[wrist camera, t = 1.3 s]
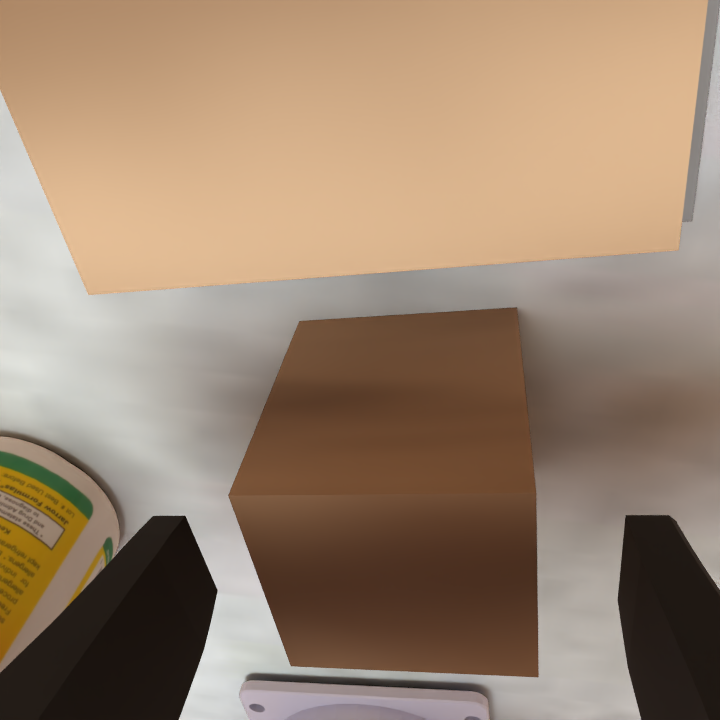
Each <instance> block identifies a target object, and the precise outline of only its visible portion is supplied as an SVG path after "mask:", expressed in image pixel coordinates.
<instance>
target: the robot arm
mask: <svg viewBox="0 0 720 720" xmlns="http://www.w3.org/2000/svg"><path fill="white" fill-rule="evenodd" d="M217 591H218V590H217V588H216V586H215V584H214V581H213V579H212V577H211V574H210V572H209V570H208V567H207V565H206V563H205V560H204V558H203V556H202V553H201V551H200V549H199V547H198V544H197V542H196V540H195V537H194V535H193V533H192V530H191V528H190V526H189V523H188V521H187V519H186V516H153V517H152V518H151V519H150V520H149V521H148V522H147V523H146V524H145V525H144V526H143V527H142V528H141V529H140V530H139V531H138V532H137V533H136V534H135V535H134V536H133V537H132V538H131V540H130V541H129V542H128V543H127V544H126V545H125V546H124V547H123V548H122V549H121V550H120V551H119V552H118V554H117V555H116V556H115V557H114V558H113V559H112V560H111V561H110V562H109V563H108V564H107V565H106V566H105V567H104V569H103V570H102V571H101V572H100V573H99V574H98V575H97V576H96V577H95V578H94V579H93V580H92V581H91V582H90V583H89V584H88V585H87V587H86V588H85V589H84V590H83V591H82V592H81V593H80V594H79V595H78V596H77V597H76V598H75V599H74V600H73V601H72V602H71V603H70V604H69V605H68V606H67V607H66V608H65V610H64V611H63V612H62V613H61V614H60V615H59V616H58V617H57V618H56V619H55V620H54V621H53V622H52V623H51V624H50V625H49V626H48V627H47V628H46V629H45V630H44V631H43V632H42V633H41V634H40V635H39V636H37V637H36V638H35V639H34V640H33V641H32V642H31V643H30V644H29V645H28V646H27V647H26V648H25V649H24V650H23V651H22V652H21V653H20V654H19V655H18V656H17V657H16V658H15V659H14V660H13V661H12V662H11V663H10V664H9V665H8V666H7V667H6V668H5V669H3V670H2V671H1V672H0V720H179V717H180V715H181V712H182V709H183V706H184V704H185V701H186V698H187V696H188V693H189V690H190V687H191V684H192V682H193V679H194V676H195V673H196V670H197V668H198V665H199V662H200V659H201V656H202V653H203V650H204V647H205V643H206V639H207V635H208V631H209V627H210V623H211V618H212V614H213V609H214V605H215V600H216V595H217ZM618 605H619V612H620V619H621V625H622V632H623V639H624V645H625V651H626V658H627V664H628V669H629V673H630V677H631V681H632V685H633V689H634V693H635V697H636V700H637V704H638V708H639V712H640V716H641V720H720V590H719V588H718V587H717V585H716V584H715V582H714V581H713V580H712V578H711V577H710V575H709V574H708V572H707V571H706V569H705V567H704V566H703V564H702V563H701V561H700V560H699V558H698V557H697V555H696V554H695V552H694V550H693V549H692V547H691V546H690V544H689V542H688V541H687V539H686V537H685V536H684V534H683V532H682V531H681V529H680V527H679V525H678V524H677V522H676V521H675V520H674V519H673V518H672V517H670V516H669V515H626V518H625V529H624V539H623V550H622V560H621V571H620V581H619V592H618ZM239 698H240V700H241V702H242V704H243V706H244V709H245V711H246V713H247V715H248V717H249V719H250V720H490V715H489V704H488V700H487V698H486V697H485V696H483V695H482V694H480V693H478V692H473V691H458V690H438V689H418V688H398V687H378V686H358V685H338V684H318V683H298V682H278V681H258V680H250V681H247V682H244V683H243V684H242V686H241V689H240V693H239Z"/></svg>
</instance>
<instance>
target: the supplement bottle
mask: <svg viewBox="0 0 720 720" xmlns="http://www.w3.org/2000/svg"><path fill="white" fill-rule="evenodd" d="M119 537H120V531H119V523H118V519H117V515H116V513H115V510H114V508H113V506H112V504H111V502H110V501H109V499H108V497H107V496H106V495H105V493H104V492H103V491H102V489H101V488H100V487H99V486H98V485H97V484H96V483H95V482H94V481H93V480H92V479H91V478H90V477H89V476H88V475H87V474H85V473H84V472H83V471H81V470H80V469H79V468H77V467H75V466H74V465H72V464H71V463H69V462H67V461H66V460H65V459H63V458H62V457H60V456H59V455H57V454H56V453H54V452H52V451H50V450H48V449H46V448H43V447H41V446H38V445H36V444H33V443H30V442H27V441H24V440H20V439H16V438H11V437H1V436H0V672H1V671H2V670H3V669H5V668H6V667H7V666H8V665H9V664H10V663H11V662H12V661H13V660H14V659H15V658H16V657H17V656H18V655H19V654H20V653H21V652H22V651H23V650H24V649H25V648H26V647H27V646H28V645H29V644H30V643H31V642H32V641H33V640H34V639H35V638H36V637H37V636H39V635H40V634H41V633H42V632H43V631H44V630H45V629H46V628H47V627H48V626H49V625H50V624H51V623H52V622H53V621H54V620H55V619H56V618H57V617H58V616H59V615H60V614H61V613H62V612H63V611H64V610H65V608H66V607H67V606H68V605H69V604H70V603H71V602H72V601H73V600H74V599H75V598H76V597H77V596H78V595H79V594H80V593H81V592H82V591H83V590H84V589H85V588H86V587H87V585H88V584H89V583H90V582H91V581H92V580H93V579H94V578H95V577H96V576H97V575H98V574H99V573H100V572H101V571H102V570H103V569H104V567H105V566H106V565H107V564H108V563H109V562H110V561H111V560H112V559H113V558H114V556H115V553H116V551H117V547H118V544H119Z"/></svg>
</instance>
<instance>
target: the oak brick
mask: <svg viewBox="0 0 720 720" xmlns="http://www.w3.org/2000/svg"><path fill="white" fill-rule="evenodd" d="M707 6H708V0H0V90H1V92H2V95H3V97H4V99H5V102H6V104H7V106H8V109H9V111H10V113H11V116H12V118H13V120H14V123H15V125H16V127H17V130H18V132H19V134H20V137H21V139H22V141H23V144H24V146H25V148H26V151H27V153H28V155H29V158H30V160H31V162H32V165H33V167H34V169H35V172H36V174H37V176H38V179H39V181H40V183H41V186H42V188H43V190H44V193H45V195H46V197H47V200H48V202H49V204H50V207H51V209H52V211H53V214H54V216H55V218H56V221H57V223H58V225H59V228H60V230H61V232H62V235H63V237H64V239H65V242H66V244H67V246H68V248H69V251H70V253H71V255H72V258H73V260H74V262H75V265H76V267H77V269H78V272H79V274H80V276H81V279H82V281H83V283H84V286H85V288H86V290H87V293H88V295H94V294H108V293H121V292H134V291H147V290H160V289H174V288H187V287H200V286H213V285H226V284H240V283H253V282H266V281H279V280H293V279H306V278H319V277H332V276H345V275H359V274H372V273H385V272H398V271H412V270H425V269H438V268H451V267H464V266H478V265H491V264H504V263H517V262H530V261H544V260H557V259H570V258H583V257H597V256H610V255H623V254H636V253H649V252H663V251H676V250H679V242H680V234H681V226H682V217H683V209H684V200H685V192H686V183H687V175H688V166H689V158H690V149H691V141H692V133H693V124H694V116H695V107H696V99H697V90H698V82H699V73H700V65H701V56H702V48H703V40H704V31H705V23H706V14H707Z"/></svg>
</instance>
